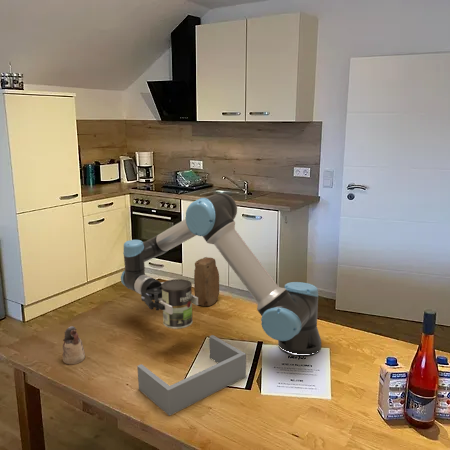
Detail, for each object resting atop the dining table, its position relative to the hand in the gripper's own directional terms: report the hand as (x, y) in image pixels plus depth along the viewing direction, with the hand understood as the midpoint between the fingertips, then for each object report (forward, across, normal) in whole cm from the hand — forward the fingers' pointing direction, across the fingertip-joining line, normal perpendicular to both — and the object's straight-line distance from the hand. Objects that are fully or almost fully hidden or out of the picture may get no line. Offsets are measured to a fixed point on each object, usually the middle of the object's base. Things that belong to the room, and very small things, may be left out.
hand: (184, 305), depth 155 cm
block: (-29, -33, -18) cm, 47 cm away
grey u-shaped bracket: (+15, +9, -18) cm, 25 cm away
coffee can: (-4, 0, -8) cm, 9 cm away
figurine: (-23, +30, -18) cm, 42 cm away
